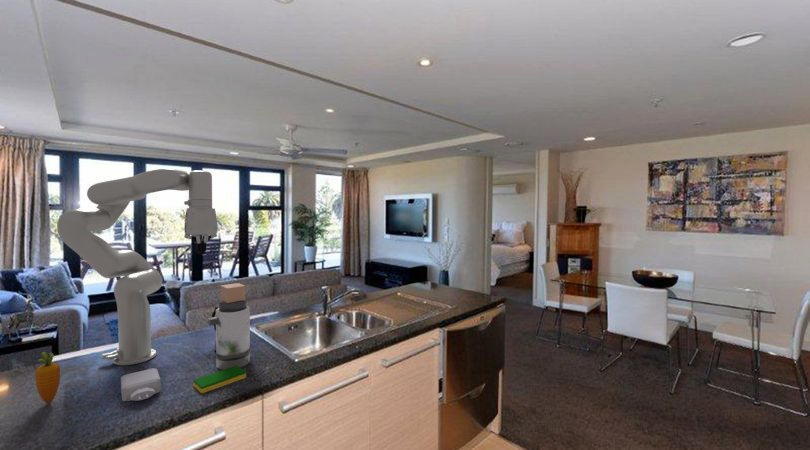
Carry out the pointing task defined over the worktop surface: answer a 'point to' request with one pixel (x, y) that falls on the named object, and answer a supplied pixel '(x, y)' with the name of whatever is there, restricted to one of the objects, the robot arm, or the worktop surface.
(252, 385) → the worktop surface
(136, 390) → the charger
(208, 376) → the dish sponge
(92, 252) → the robot arm
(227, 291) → the airpot button
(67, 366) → the worktop surface
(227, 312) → the airpot
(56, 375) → the carrot
